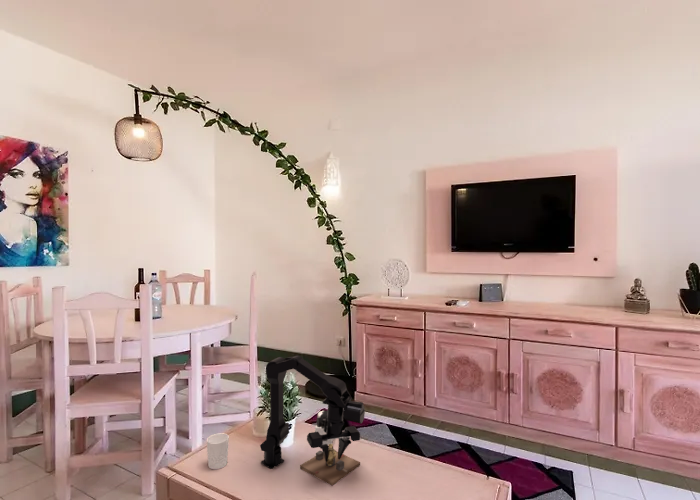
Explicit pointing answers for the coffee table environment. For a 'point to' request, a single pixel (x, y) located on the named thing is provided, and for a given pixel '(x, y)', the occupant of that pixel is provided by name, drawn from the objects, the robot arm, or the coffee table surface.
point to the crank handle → (331, 454)
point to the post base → (330, 467)
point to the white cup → (217, 450)
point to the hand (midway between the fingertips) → (332, 459)
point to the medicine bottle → (319, 429)
